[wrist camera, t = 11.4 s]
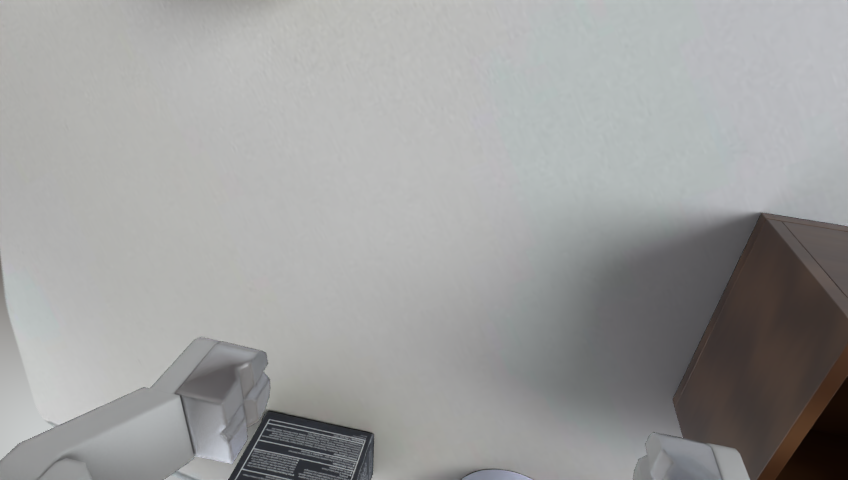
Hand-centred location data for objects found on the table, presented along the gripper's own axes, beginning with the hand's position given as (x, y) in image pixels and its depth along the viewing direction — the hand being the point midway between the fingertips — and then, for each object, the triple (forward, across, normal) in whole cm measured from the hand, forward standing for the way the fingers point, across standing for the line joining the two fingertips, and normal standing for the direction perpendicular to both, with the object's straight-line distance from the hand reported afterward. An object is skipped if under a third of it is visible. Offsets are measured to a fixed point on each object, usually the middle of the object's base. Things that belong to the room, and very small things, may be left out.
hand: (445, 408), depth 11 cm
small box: (+23, +13, +34) cm, 42 cm away
